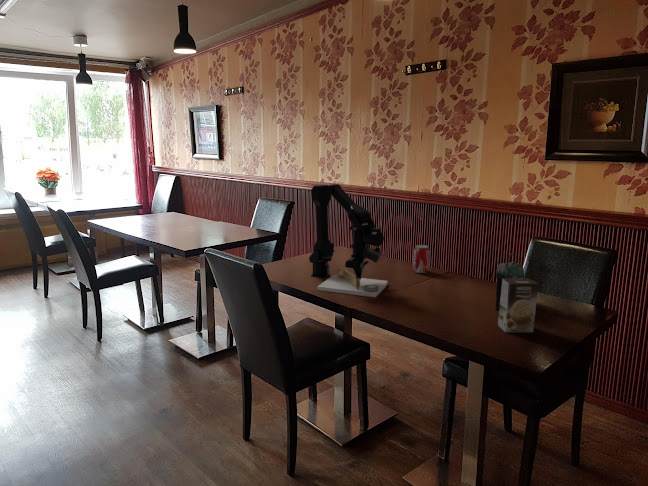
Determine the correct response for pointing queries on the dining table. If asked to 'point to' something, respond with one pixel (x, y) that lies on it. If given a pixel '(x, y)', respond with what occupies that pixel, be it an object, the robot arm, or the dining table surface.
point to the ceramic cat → (507, 276)
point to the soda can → (421, 259)
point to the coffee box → (517, 304)
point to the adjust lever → (349, 277)
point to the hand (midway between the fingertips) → (359, 279)
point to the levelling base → (342, 286)
